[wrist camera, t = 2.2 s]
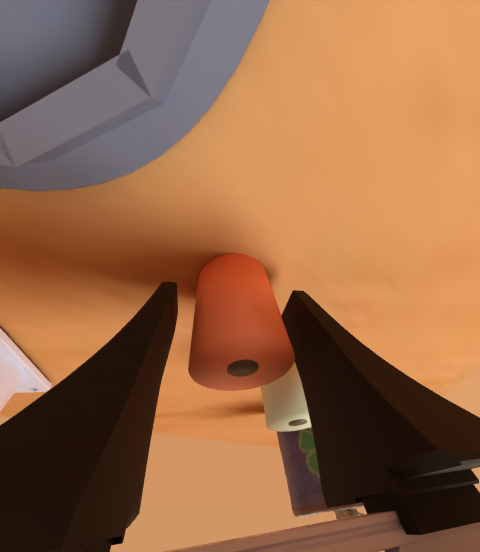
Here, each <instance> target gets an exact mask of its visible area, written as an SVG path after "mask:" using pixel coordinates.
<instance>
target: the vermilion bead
mask: <svg viewBox="0 0 480 552" xmlns="http://www.w3.org/2000/svg"><path fill="white" fill-rule="evenodd" d="M294 361H295V355H294V351H293V348H292V346H291V343H290V340H289V337H288V334H287V331H286V328H285V326H284V323H283V320H282V317H281V314H280V311H279V308H278V306H277V303H276V300H275V297H274V294H273V291H272V288H271V285H270V283H269V280H268V277H267V274H266V271H265V269H264V267H263V266H262V265H261V264H260V262H258V261H257V260H256V259H254V258H252V257H250V256H247V255H243V254H226V255H222V256H219V257H217V258H214V259H213V260H211V261H210V262H208V263H207V264H206V265H205V266H204V267H203V269H202V270H201V272H200V274H199V278H198V286H197V295H196V304H195V313H194V322H193V331H192V340H191V349H190V358H189V367H188V370H189V374H190V376H191V378H192V379H193V380H194V381H195V382H197V383H198V384H200V385H202V386H205V387H208V388H211V389H216V390H226V391H236V390H246V389H252V388H256V387H260V386H263V385H266V384H269V383H271V382H273V381H275V380H277V379H279V378H281V377H282V376H283V375H285V374H286V373H287V372H288V371H289V370H290V369H291V368H292V366H293V364H294Z"/></svg>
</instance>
